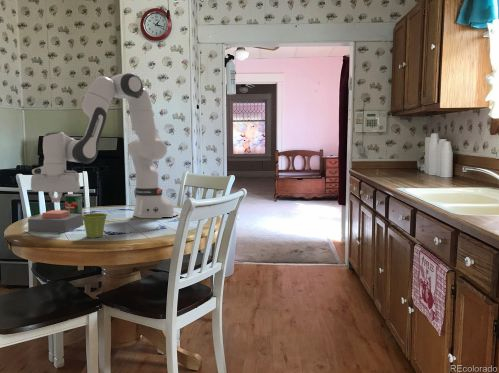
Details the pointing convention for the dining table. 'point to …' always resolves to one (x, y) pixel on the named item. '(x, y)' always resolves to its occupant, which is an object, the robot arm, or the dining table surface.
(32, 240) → the dining table surface
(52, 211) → the button
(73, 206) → the canned tomato
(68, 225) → the button housing
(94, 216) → the plant pot
